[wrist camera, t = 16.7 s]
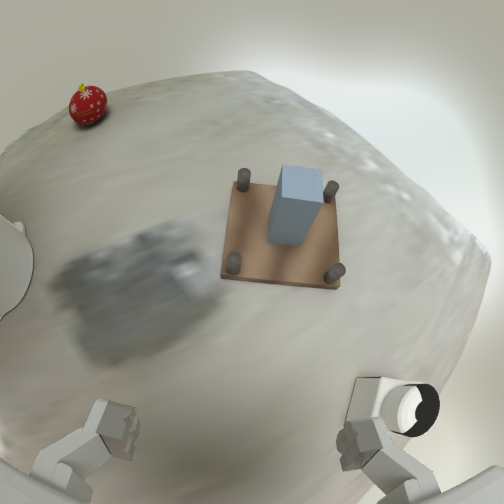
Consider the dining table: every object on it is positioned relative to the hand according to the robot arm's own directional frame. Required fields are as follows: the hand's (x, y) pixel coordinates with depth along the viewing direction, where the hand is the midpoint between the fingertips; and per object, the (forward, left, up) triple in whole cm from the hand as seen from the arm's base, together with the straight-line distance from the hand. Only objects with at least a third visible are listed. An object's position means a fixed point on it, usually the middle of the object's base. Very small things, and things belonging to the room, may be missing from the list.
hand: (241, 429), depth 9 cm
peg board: (+5, +22, -25) cm, 34 cm away
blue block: (+5, +22, -24) cm, 32 cm away
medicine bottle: (+19, -2, -25) cm, 32 cm away
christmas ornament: (-36, +46, -25) cm, 63 cm away
